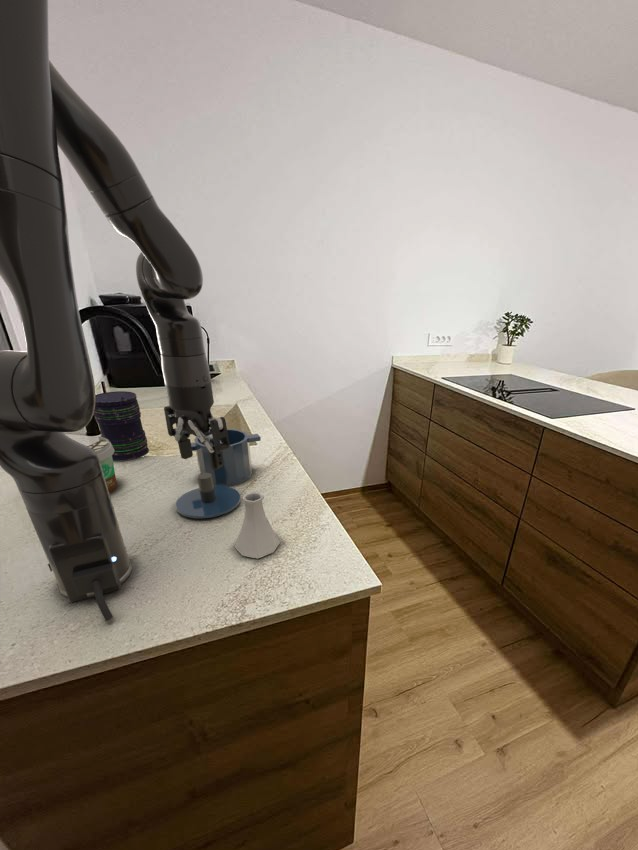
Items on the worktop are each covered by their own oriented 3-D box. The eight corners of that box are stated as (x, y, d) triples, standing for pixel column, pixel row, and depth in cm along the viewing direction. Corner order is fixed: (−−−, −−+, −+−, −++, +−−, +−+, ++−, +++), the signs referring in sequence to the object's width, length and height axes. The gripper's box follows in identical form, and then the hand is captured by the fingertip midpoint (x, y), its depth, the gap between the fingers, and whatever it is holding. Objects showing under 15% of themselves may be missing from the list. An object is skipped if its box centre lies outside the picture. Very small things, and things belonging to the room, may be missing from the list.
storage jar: (96, 456, 97) (79, 398, 90) (130, 443, 105) (116, 389, 99) (125, 464, 94) (109, 404, 87) (158, 450, 102) (145, 394, 96)
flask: (257, 564, 63) (252, 513, 58) (227, 549, 66) (220, 499, 62) (287, 543, 69) (284, 494, 64) (258, 529, 72) (253, 482, 67)
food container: (92, 507, 76) (77, 461, 72) (65, 503, 77) (49, 458, 73) (136, 480, 87) (125, 438, 82) (112, 476, 88) (100, 435, 83)
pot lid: (247, 512, 77) (244, 482, 74) (180, 527, 72) (174, 496, 69) (233, 485, 87) (229, 458, 84) (173, 497, 81) (167, 469, 78)
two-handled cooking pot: (268, 478, 90) (265, 440, 86) (192, 493, 83) (184, 452, 79) (255, 460, 99) (252, 424, 95) (185, 472, 92) (178, 434, 87)
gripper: (142, 377, 68) (161, 460, 75) (197, 391, 62) (212, 480, 69) (179, 370, 74) (193, 448, 81) (233, 382, 67) (243, 465, 75)
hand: (202, 463), depth 75 cm, fingers open, 8 cm apart
